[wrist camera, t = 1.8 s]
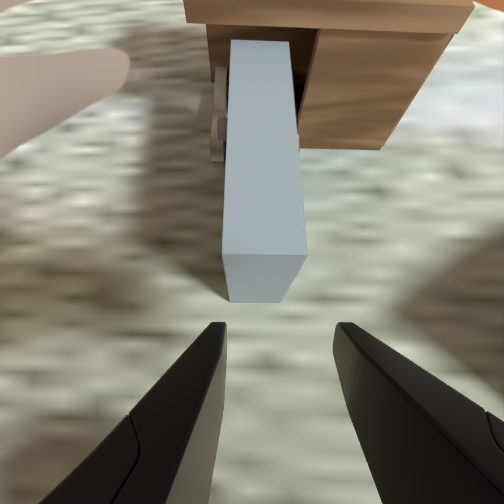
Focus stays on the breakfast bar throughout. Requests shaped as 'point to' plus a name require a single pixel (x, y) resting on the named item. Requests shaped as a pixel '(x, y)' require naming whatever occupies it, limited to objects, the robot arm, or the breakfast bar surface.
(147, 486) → the robot arm
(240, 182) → the gray rectangular box
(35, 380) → the breakfast bar surface
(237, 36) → the cubby cabinet
